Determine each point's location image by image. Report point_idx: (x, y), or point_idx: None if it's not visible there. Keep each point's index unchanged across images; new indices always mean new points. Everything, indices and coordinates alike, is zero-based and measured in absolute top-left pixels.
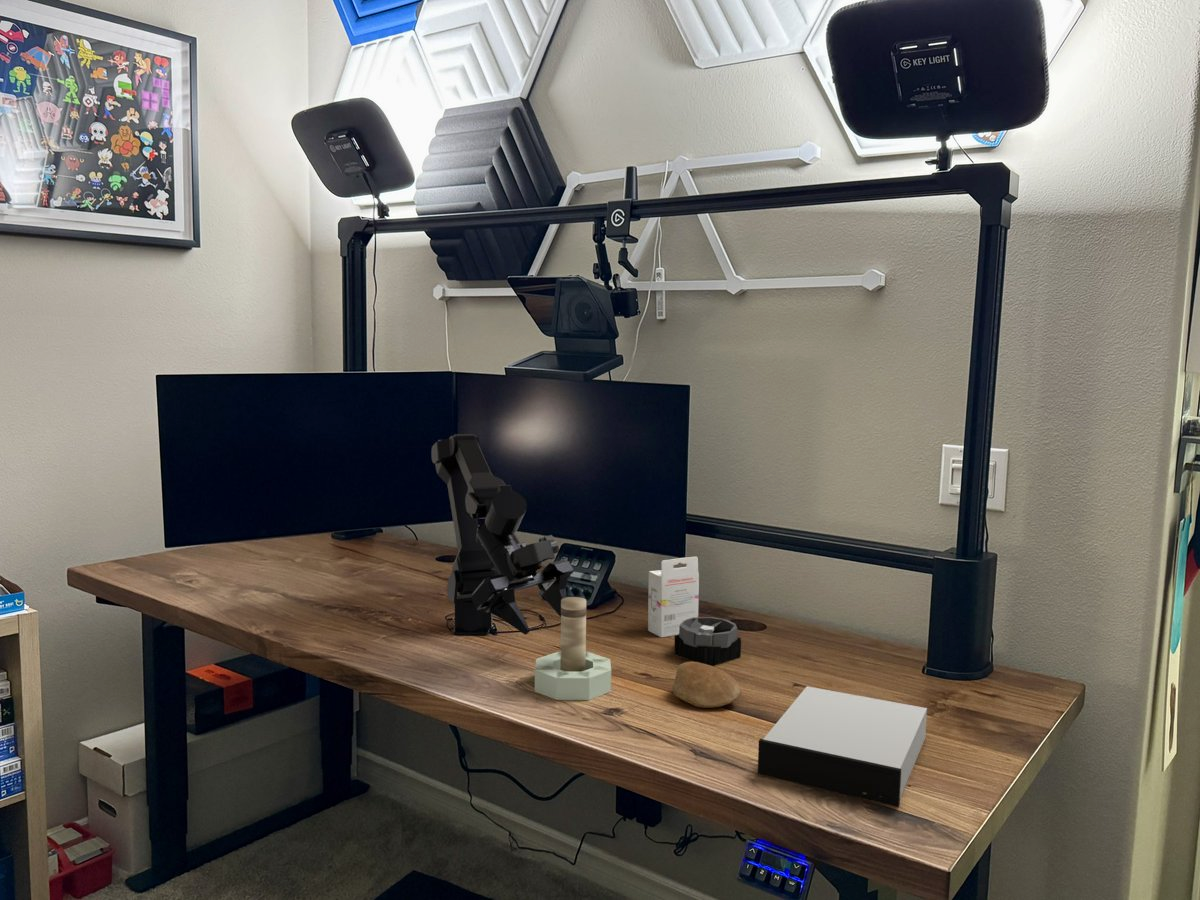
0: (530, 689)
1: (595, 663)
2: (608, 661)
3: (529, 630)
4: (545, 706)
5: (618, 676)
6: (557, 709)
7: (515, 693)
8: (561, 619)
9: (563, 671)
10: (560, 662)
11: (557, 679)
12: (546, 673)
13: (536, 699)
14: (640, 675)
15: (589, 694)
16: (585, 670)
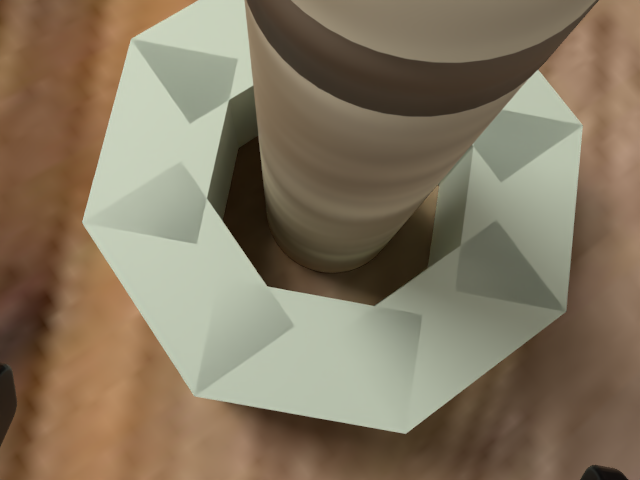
0: None
1: (249, 71)
2: (173, 26)
3: (598, 467)
4: (617, 168)
5: (85, 88)
6: (607, 106)
7: (594, 387)
8: (524, 83)
9: (478, 151)
10: (393, 232)
11: (577, 125)
12: (565, 216)
13: (583, 252)
14: (12, 7)
15: None
16: None
